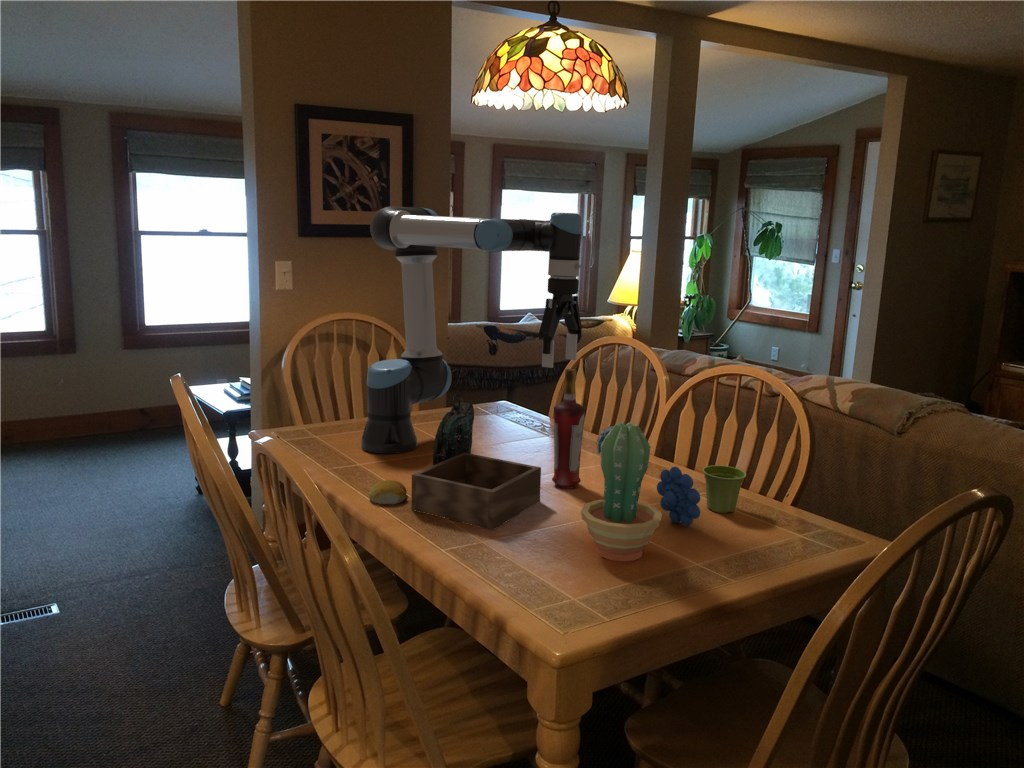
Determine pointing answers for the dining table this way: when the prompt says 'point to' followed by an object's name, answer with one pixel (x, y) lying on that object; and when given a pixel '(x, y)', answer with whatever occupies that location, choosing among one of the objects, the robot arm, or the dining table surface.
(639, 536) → the potted cactus
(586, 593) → the dining table surface
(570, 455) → the liquor
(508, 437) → the dining table surface
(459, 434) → the dark green bag
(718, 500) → the plant pot
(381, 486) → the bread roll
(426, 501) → the box
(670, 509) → the grapes
